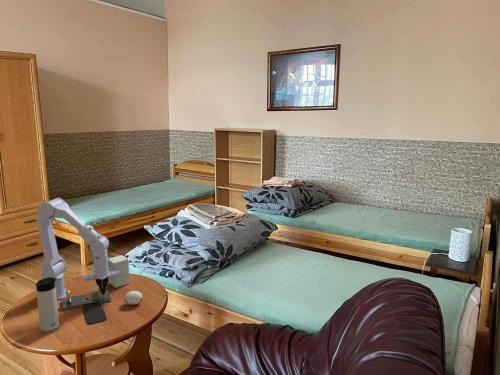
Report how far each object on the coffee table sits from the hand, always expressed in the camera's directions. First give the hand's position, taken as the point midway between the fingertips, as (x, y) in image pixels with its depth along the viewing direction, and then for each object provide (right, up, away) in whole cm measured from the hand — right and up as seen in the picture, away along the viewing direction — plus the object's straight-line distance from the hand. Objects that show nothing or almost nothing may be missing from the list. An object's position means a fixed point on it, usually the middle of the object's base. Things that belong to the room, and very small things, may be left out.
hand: (103, 293), depth 167 cm
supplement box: (+2, 0, +15) cm, 16 cm away
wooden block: (-3, -1, -1) cm, 3 cm away
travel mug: (-11, -7, -23) cm, 26 cm away
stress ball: (+14, -4, -3) cm, 15 cm away
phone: (+1, -5, -12) cm, 13 cm away
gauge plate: (-6, -3, -2) cm, 7 cm away
